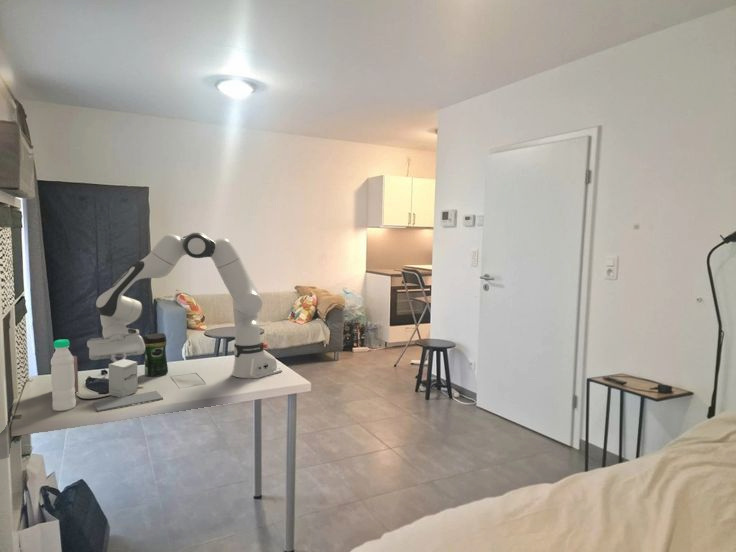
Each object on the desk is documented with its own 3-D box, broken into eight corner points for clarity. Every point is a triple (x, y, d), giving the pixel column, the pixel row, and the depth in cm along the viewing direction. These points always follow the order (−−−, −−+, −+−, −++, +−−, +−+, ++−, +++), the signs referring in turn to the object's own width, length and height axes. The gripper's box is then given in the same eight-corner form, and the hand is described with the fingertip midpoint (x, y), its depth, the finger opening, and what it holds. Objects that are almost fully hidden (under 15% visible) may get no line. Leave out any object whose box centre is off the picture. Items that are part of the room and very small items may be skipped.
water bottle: (47, 411, 166) (44, 341, 164) (63, 404, 173) (60, 337, 171) (65, 412, 165) (62, 342, 163) (80, 405, 172) (77, 338, 170)
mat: (156, 392, 187) (156, 390, 187) (163, 399, 179) (163, 397, 179) (93, 403, 174) (93, 402, 174) (97, 411, 166) (97, 410, 166)
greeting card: (52, 391, 187) (50, 354, 186) (73, 387, 192) (72, 351, 191) (57, 398, 179) (55, 360, 177) (79, 394, 184) (78, 357, 182)
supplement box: (123, 398, 180) (122, 367, 178) (108, 394, 182) (107, 363, 180) (138, 391, 187) (137, 361, 185) (123, 388, 189) (123, 358, 187)
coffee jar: (165, 370, 217) (164, 331, 216) (169, 374, 211) (168, 334, 209) (142, 373, 212) (141, 333, 210) (146, 378, 205) (144, 336, 204)
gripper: (86, 334, 186) (90, 364, 179) (142, 329, 198) (148, 357, 191) (85, 343, 190) (89, 373, 183) (140, 337, 202) (146, 365, 195)
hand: (120, 365), depth 187 cm, fingers closed
